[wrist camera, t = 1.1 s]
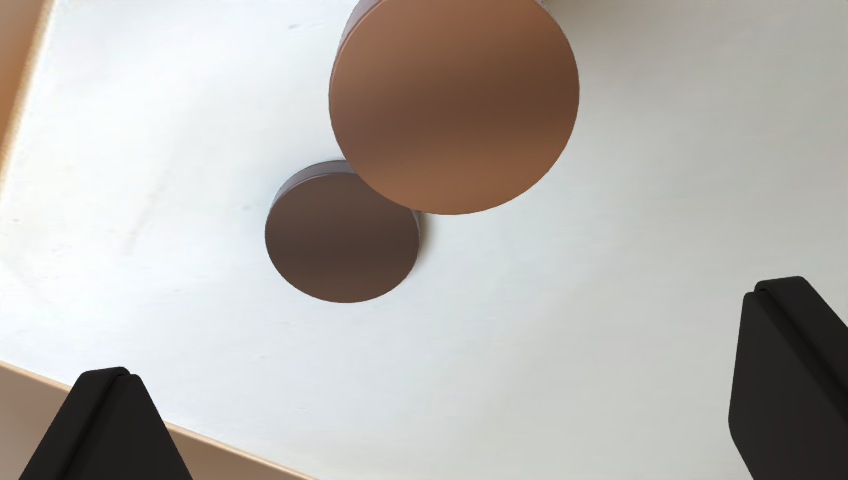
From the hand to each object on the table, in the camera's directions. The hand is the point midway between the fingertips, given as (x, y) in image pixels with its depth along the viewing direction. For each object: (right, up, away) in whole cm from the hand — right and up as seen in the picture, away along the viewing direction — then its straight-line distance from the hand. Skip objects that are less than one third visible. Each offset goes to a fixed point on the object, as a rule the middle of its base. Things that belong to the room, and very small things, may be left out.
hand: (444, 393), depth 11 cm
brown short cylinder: (0, +8, +11) cm, 13 cm away
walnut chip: (-5, +3, +28) cm, 28 cm away
